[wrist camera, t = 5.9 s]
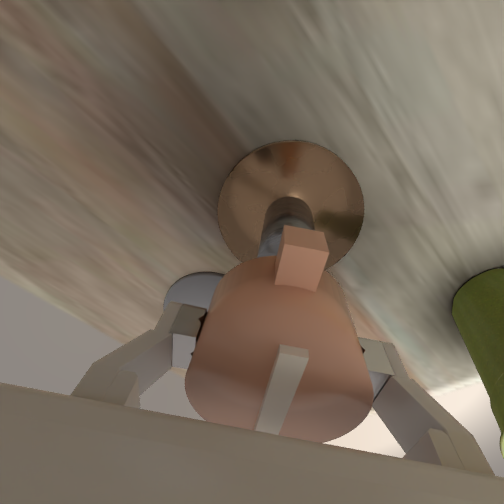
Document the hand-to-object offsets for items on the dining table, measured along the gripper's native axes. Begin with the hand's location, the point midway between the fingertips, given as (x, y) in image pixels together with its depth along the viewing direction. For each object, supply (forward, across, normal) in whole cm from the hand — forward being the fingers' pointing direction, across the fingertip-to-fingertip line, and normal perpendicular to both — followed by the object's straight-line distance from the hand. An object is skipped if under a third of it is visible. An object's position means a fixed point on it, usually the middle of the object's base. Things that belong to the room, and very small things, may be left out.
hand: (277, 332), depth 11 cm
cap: (+1, 0, 0) cm, 1 cm away
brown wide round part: (+12, -1, 0) cm, 12 cm away
